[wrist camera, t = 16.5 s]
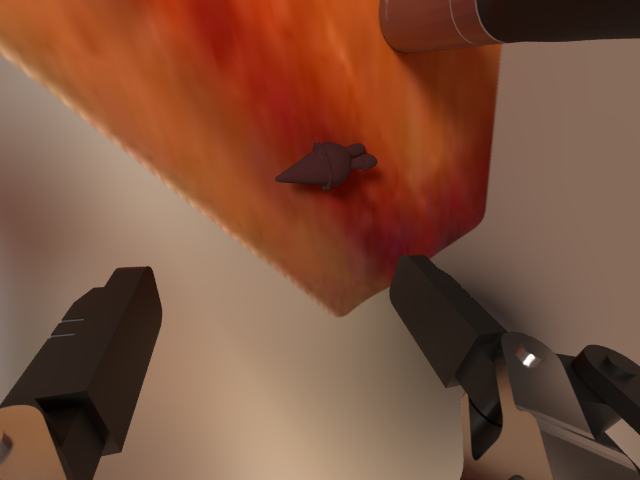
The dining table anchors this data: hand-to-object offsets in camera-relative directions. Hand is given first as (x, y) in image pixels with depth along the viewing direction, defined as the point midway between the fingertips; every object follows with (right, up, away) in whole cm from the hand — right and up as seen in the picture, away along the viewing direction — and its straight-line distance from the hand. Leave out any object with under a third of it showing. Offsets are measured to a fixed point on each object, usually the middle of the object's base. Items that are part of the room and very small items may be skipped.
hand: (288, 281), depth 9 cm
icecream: (+1, +14, +33) cm, 36 cm away
